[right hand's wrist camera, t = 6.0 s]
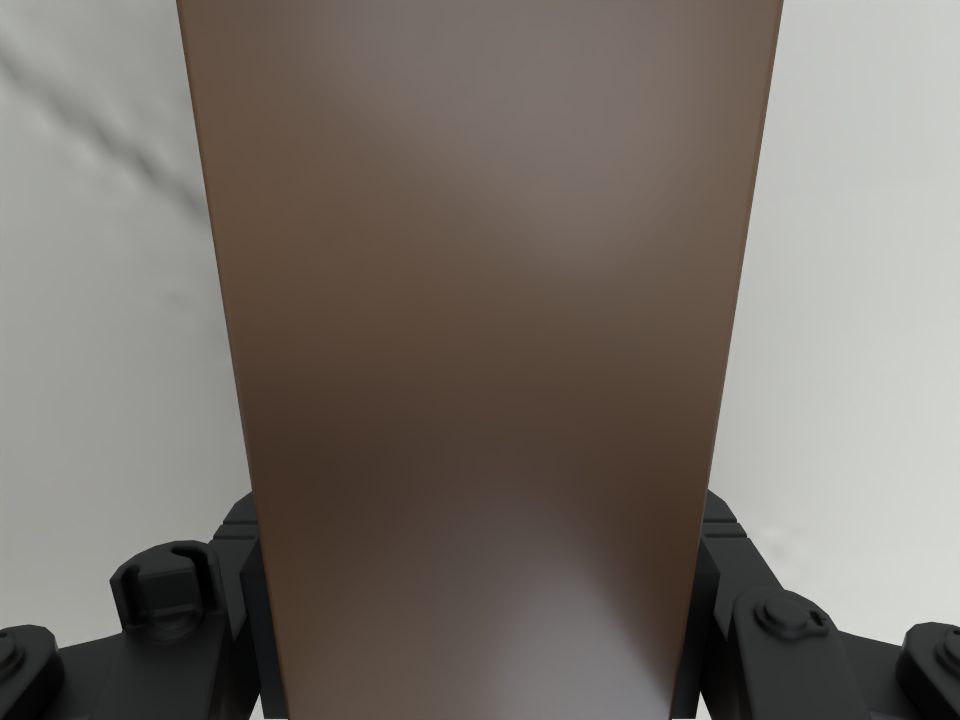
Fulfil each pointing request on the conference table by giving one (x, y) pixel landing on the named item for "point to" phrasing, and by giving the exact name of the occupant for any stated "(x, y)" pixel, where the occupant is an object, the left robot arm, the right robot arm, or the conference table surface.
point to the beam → (479, 332)
